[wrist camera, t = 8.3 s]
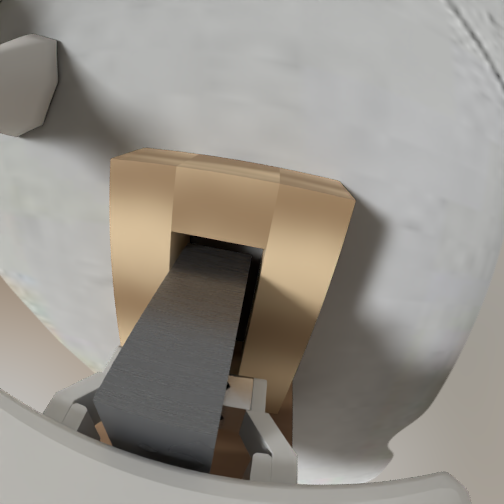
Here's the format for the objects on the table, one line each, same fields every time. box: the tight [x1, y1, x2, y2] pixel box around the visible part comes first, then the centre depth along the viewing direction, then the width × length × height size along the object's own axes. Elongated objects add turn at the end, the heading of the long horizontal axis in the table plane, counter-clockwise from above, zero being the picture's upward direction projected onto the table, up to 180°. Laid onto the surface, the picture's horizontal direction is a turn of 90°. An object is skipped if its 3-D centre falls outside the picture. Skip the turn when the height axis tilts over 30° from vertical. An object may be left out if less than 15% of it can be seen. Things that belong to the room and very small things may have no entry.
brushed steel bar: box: [93, 243, 252, 474], centre depth 11 cm, size 7×3×9 cm, turn 170°
